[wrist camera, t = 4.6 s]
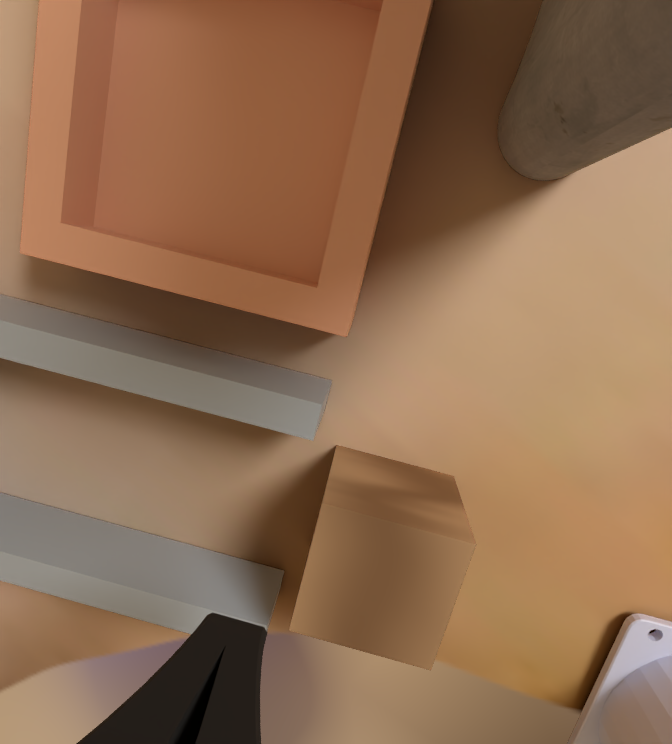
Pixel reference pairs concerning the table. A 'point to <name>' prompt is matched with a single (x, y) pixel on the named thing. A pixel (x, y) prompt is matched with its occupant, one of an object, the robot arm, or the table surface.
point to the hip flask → (588, 85)
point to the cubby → (125, 545)
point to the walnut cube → (384, 559)
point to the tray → (220, 145)
